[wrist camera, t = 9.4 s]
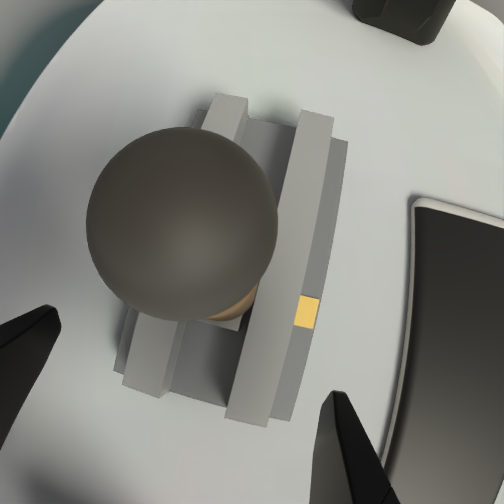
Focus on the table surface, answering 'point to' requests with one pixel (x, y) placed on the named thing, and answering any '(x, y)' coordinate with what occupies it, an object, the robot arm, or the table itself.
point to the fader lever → (183, 226)
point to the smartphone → (451, 362)
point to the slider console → (269, 287)
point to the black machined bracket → (405, 17)
